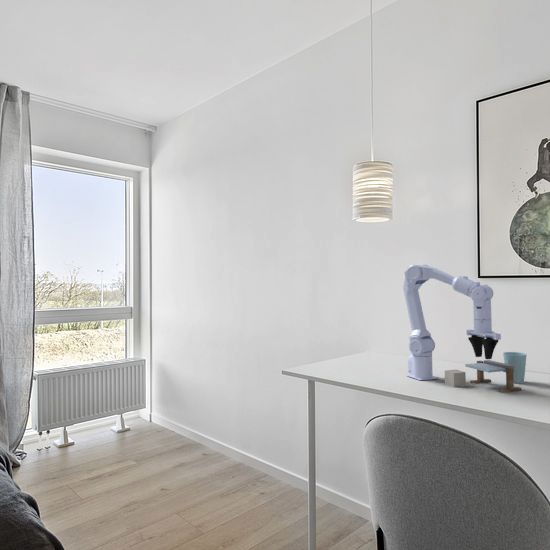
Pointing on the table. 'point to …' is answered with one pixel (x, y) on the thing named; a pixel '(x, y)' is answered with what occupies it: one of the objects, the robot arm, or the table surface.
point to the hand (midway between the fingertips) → (483, 357)
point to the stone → (455, 378)
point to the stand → (509, 380)
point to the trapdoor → (490, 366)
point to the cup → (516, 364)
